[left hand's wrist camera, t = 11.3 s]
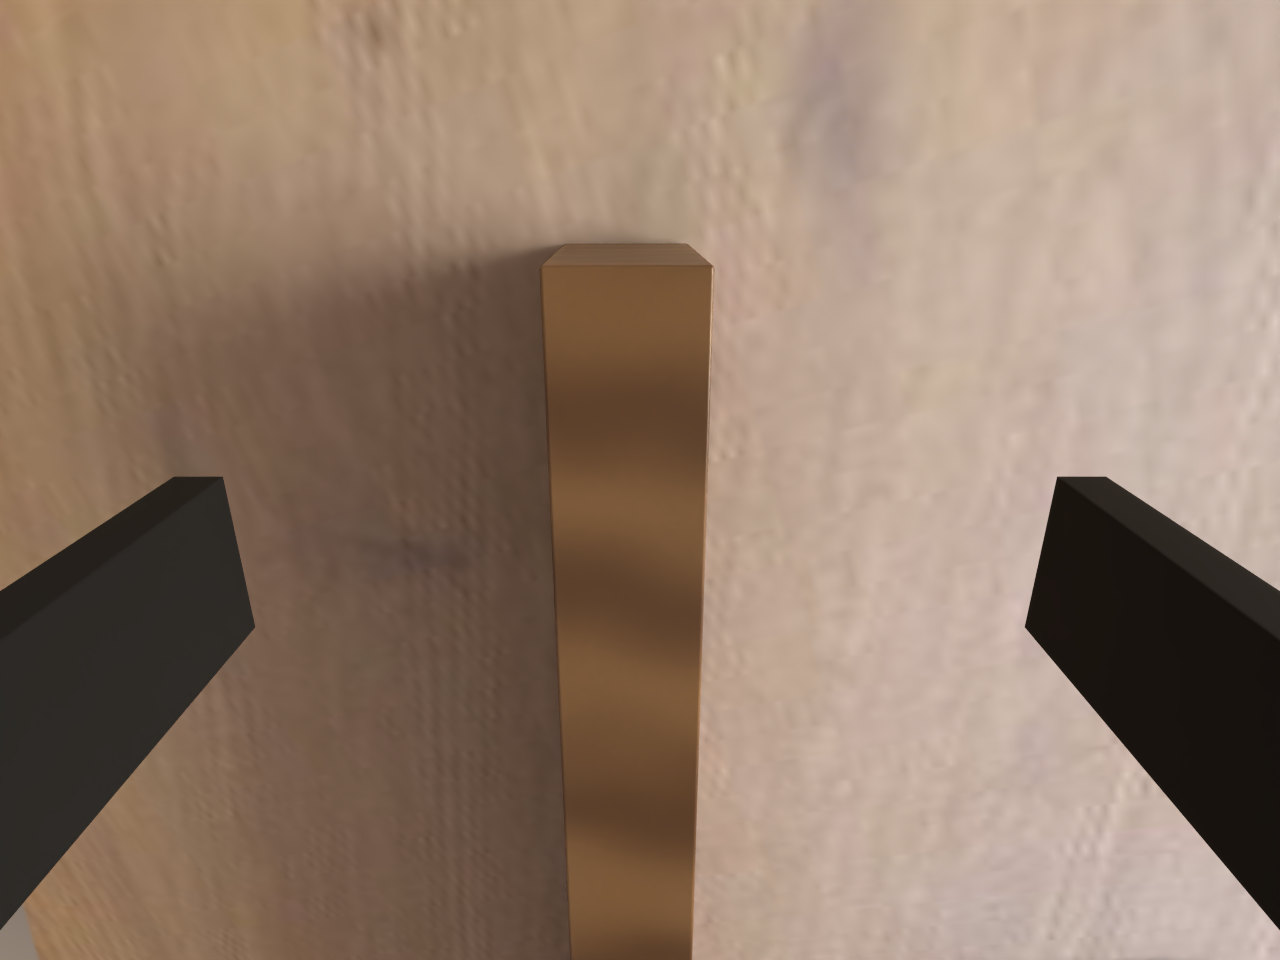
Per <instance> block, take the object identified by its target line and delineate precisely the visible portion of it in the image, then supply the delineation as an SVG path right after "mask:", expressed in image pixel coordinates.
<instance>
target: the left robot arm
mask: <svg viewBox="0 0 1280 960" xmlns="http://www.w3.org/2000/svg"><path fill="white" fill-rule="evenodd" d="M254 628H255V624H254V619H253V615H252V610H251V606H250V601H249V596H248V592H247V587H246V582H245V578H244V573H243V568H242V564H241V559H240V555H239V550H238V545H237V541H236V536H235V531H234V527H233V522H232V517H231V513H230V508H229V504H228V499H227V494H226V490H225V485H224V480H223V477H173V478H171V479H170V480H168V481H167V482H165V483H164V484H162V485H161V486H159V487H158V488H156V489H155V490H153V491H152V492H150V493H149V494H147V495H146V496H144V497H143V498H141V499H140V500H138V501H136V502H135V503H133V504H132V505H130V506H129V507H127V508H126V509H124V510H123V511H121V512H120V513H118V514H117V515H115V516H114V517H112V518H111V519H109V520H108V521H106V522H105V523H103V524H102V525H100V526H99V527H97V528H96V529H94V530H92V531H91V532H89V533H88V534H86V535H85V536H83V537H82V538H80V539H79V540H77V541H76V542H74V543H73V544H71V545H70V546H68V547H67V548H65V549H64V550H62V551H61V552H59V553H58V554H56V555H55V556H53V557H52V558H50V559H48V560H47V561H45V562H44V563H42V564H41V565H39V566H38V567H36V568H35V569H33V570H32V571H30V572H29V573H27V574H26V575H24V576H23V577H21V578H20V579H18V580H17V581H15V582H14V583H12V584H11V585H9V586H8V587H6V588H4V589H3V590H1V591H0V930H1V929H2V927H3V926H4V925H5V924H6V923H7V921H8V920H9V919H10V918H11V917H12V915H13V914H14V913H15V912H16V911H17V910H18V908H19V907H20V906H21V905H22V904H23V902H24V901H25V900H26V899H27V898H28V896H29V895H30V894H31V893H32V892H33V891H34V889H35V888H36V887H37V886H38V885H39V883H40V882H41V881H42V880H43V879H44V877H45V876H46V875H47V874H48V873H49V872H50V870H51V869H52V868H53V867H54V866H55V864H56V863H57V862H58V861H59V860H60V858H61V857H62V856H63V855H64V854H65V852H66V851H67V850H68V849H69V848H70V847H71V845H72V844H73V843H74V842H75V841H76V839H77V838H78V837H79V836H80V835H81V833H82V832H83V831H84V830H85V829H86V828H87V826H88V825H89V824H90V823H91V822H92V820H93V819H94V818H95V817H96V816H97V814H98V813H99V812H100V811H101V810H102V809H103V807H104V806H105V805H106V804H107V803H108V801H109V800H110V799H111V798H112V797H113V795H114V794H115V793H116V792H117V791H118V789H119V788H120V787H121V786H122V785H123V784H124V782H125V781H126V780H127V779H128V778H129V776H130V775H131V774H132V773H133V772H134V770H135V769H136V768H137V767H138V766H139V765H140V763H141V762H142V761H143V760H144V759H145V757H146V756H147V755H148V754H149V753H150V751H151V750H152V749H153V748H154V747H155V746H156V744H157V743H158V742H159V741H160V740H161V738H162V737H163V736H164V735H165V734H166V732H167V731H168V730H169V729H170V728H171V727H172V725H173V724H174V723H175V722H176V721H177V719H178V718H179V717H180V716H181V715H182V713H183V712H184V711H185V710H186V709H187V707H188V706H189V705H190V704H191V703H192V702H193V700H194V699H195V698H196V697H197V696H198V694H199V693H200V692H201V691H202V690H203V688H204V687H205V686H206V685H207V684H208V683H209V681H210V680H211V679H212V678H213V677H214V675H215V674H216V673H217V672H218V671H219V669H220V668H221V667H222V666H223V665H224V664H225V662H226V661H227V660H228V659H229V658H230V656H231V655H232V654H233V653H234V652H235V650H236V649H237V648H238V647H239V646H240V644H241V643H242V642H243V641H244V640H245V639H246V637H247V636H248V635H249V634H250V633H251V631H252V630H253V629H254ZM1025 628H1026V629H1027V630H1028V631H1029V633H1030V634H1031V635H1032V636H1033V637H1034V639H1035V640H1036V641H1037V642H1038V643H1039V644H1040V646H1041V647H1042V648H1043V649H1044V650H1045V652H1046V653H1047V654H1048V655H1049V656H1050V658H1051V659H1052V660H1053V661H1054V662H1055V664H1056V665H1057V666H1058V667H1059V668H1060V669H1061V671H1062V672H1063V673H1064V674H1065V675H1066V677H1067V678H1068V679H1069V680H1070V681H1071V683H1072V684H1073V685H1074V686H1075V687H1076V688H1077V690H1078V691H1079V692H1080V693H1081V694H1082V696H1083V697H1084V698H1085V699H1086V700H1087V702H1088V703H1089V704H1090V705H1091V706H1092V707H1093V709H1094V710H1095V711H1096V712H1097V713H1098V715H1099V716H1100V717H1101V718H1102V719H1103V721H1104V722H1105V723H1106V724H1107V725H1108V727H1109V728H1110V729H1111V730H1112V731H1113V732H1114V734H1115V735H1116V736H1117V737H1118V738H1119V740H1120V741H1121V742H1122V743H1123V744H1124V746H1125V747H1126V748H1127V749H1128V750H1129V751H1130V753H1131V754H1132V755H1133V756H1134V757H1135V759H1136V760H1137V761H1138V762H1139V763H1140V765H1141V766H1142V767H1143V768H1144V769H1145V770H1146V772H1147V773H1148V774H1149V775H1150V776H1151V778H1152V779H1153V780H1154V781H1155V782H1156V784H1157V785H1158V786H1159V787H1160V788H1161V789H1162V791H1163V792H1164V793H1165V794H1166V795H1167V797H1168V798H1169V799H1170V800H1171V801H1172V803H1173V804H1174V805H1175V806H1176V807H1177V809H1178V810H1179V811H1180V812H1181V813H1182V814H1183V816H1184V817H1185V818H1186V819H1187V820H1188V822H1189V823H1190V824H1191V825H1192V826H1193V828H1194V829H1195V830H1196V831H1197V832H1198V833H1199V835H1200V836H1201V837H1202V838H1203V839H1204V841H1205V842H1206V843H1207V844H1208V845H1209V847H1210V848H1211V849H1212V850H1213V851H1214V852H1215V854H1216V855H1217V856H1218V857H1219V858H1220V860H1221V861H1222V862H1223V863H1224V864H1225V866H1226V867H1227V868H1228V869H1229V870H1230V872H1231V873H1232V874H1233V875H1234V876H1235V877H1236V879H1237V880H1238V881H1239V882H1240V883H1241V885H1242V886H1243V887H1244V888H1245V889H1246V891H1247V892H1248V893H1249V894H1250V895H1251V896H1252V898H1253V899H1254V900H1255V901H1256V902H1257V904H1258V905H1259V906H1260V907H1261V908H1262V910H1263V911H1264V912H1265V913H1266V914H1267V915H1268V917H1269V918H1270V919H1271V920H1272V921H1273V923H1274V924H1275V925H1276V926H1277V927H1278V929H1279V930H1280V591H1279V590H1277V589H1276V588H1274V587H1272V586H1271V585H1269V584H1268V583H1266V582H1265V581H1263V580H1262V579H1260V578H1259V577H1257V576H1256V575H1254V574H1253V573H1251V572H1250V571H1248V570H1247V569H1245V568H1244V567H1242V566H1241V565H1239V564H1238V563H1236V562H1235V561H1233V560H1232V559H1230V558H1228V557H1227V556H1225V555H1224V554H1222V553H1221V552H1219V551H1218V550H1216V549H1215V548H1213V547H1212V546H1210V545H1209V544H1207V543H1206V542H1204V541H1203V540H1201V539H1200V538H1198V537H1197V536H1195V535H1194V534H1192V533H1191V532H1189V531H1188V530H1186V529H1184V528H1183V527H1181V526H1180V525H1178V524H1177V523H1175V522H1174V521H1172V520H1171V519H1169V518H1168V517H1166V516H1165V515H1163V514H1162V513H1160V512H1159V511H1157V510H1156V509H1154V508H1153V507H1151V506H1150V505H1148V504H1147V503H1145V502H1144V501H1142V500H1140V499H1139V498H1137V497H1136V496H1134V495H1133V494H1131V493H1130V492H1128V491H1127V490H1125V489H1124V488H1122V487H1121V486H1119V485H1118V484H1116V483H1115V482H1113V481H1112V480H1110V479H1109V478H1107V477H1057V480H1056V485H1055V490H1054V494H1053V499H1052V504H1051V508H1050V513H1049V517H1048V522H1047V527H1046V531H1045V536H1044V541H1043V545H1042V550H1041V555H1040V559H1039V564H1038V568H1037V573H1036V578H1035V582H1034V587H1033V592H1032V596H1031V601H1030V606H1029V610H1028V615H1027V619H1026V624H1025Z"/></svg>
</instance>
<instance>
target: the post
mask: <svg viewBox="0 0 1280 960" xmlns="http://www.w3.org/2000/svg"><path fill="white" fill-rule="evenodd" d="M540 287H541V309H542V332H543V354H544V377H545V399H546V422H547V445H548V467H549V490H550V512H551V535H552V557H553V580H554V602H555V625H556V648H557V670H558V693H559V715H560V738H561V760H562V783H563V805H564V828H565V851H566V873H567V896H568V918H569V941H570V960H692V942H693V911H694V880H695V849H696V818H697V787H698V756H699V725H700V694H701V663H702V632H703V601H704V570H705V539H706V508H707V478H708V447H709V416H710V385H711V354H712V323H713V292H714V267H713V265H712V264H710V263H709V262H708V261H707V260H706V259H705V258H703V257H702V256H701V255H700V254H699V253H698V252H696V251H695V250H694V249H693V248H692V247H691V246H689V245H688V244H565V245H563V246H562V247H561V248H560V249H559V250H558V251H557V252H556V253H555V254H554V255H553V256H551V257H550V258H549V259H548V260H547V261H546V262H545V263H544V264H543V265H542V266H541V267H540Z"/></svg>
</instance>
